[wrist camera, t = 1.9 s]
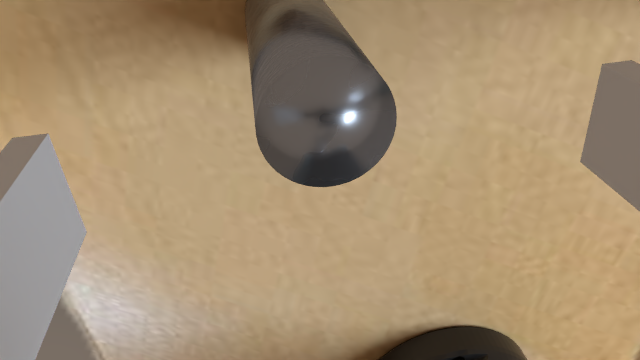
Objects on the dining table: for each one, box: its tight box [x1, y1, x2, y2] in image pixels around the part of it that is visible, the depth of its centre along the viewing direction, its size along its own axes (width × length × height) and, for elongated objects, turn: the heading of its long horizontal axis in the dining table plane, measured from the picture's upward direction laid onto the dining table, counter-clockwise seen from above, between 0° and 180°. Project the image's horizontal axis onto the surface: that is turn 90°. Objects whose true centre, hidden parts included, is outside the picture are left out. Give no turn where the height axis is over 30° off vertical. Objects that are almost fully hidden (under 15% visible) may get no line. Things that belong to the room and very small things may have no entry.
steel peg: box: [245, 0, 397, 187], centre depth 20 cm, size 4×4×14 cm
